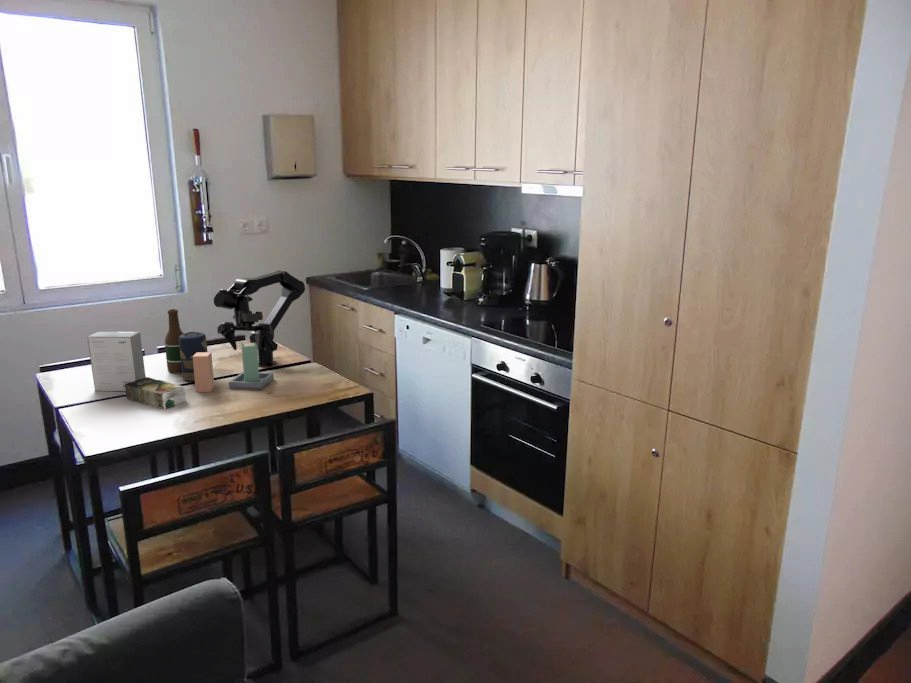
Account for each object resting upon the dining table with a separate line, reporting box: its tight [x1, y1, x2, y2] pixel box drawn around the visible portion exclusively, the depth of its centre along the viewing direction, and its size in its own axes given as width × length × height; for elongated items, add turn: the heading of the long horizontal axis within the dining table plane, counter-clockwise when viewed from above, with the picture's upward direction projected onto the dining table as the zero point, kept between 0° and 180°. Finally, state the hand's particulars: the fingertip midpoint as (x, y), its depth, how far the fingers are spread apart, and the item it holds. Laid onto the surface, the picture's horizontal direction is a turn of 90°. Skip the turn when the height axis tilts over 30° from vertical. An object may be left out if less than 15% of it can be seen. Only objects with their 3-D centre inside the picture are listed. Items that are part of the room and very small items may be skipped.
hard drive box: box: [86, 331, 147, 392], centre depth 239 cm, size 16×8×20 cm, turn 89°
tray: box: [228, 371, 275, 391], centre depth 247 cm, size 12×12×2 cm
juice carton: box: [125, 376, 187, 410], centre depth 229 cm, size 20×10×6 cm, turn 62°
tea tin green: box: [241, 342, 260, 382], centre depth 246 cm, size 5×5×14 cm
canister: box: [179, 331, 209, 382], centre depth 250 cm, size 10×10×18 cm
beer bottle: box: [164, 308, 185, 374], centre depth 259 cm, size 8×8×24 cm
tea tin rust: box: [193, 351, 215, 393], centre depth 240 cm, size 5×5×13 cm
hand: (247, 350), depth 251 cm, fingers open, 9 cm apart
